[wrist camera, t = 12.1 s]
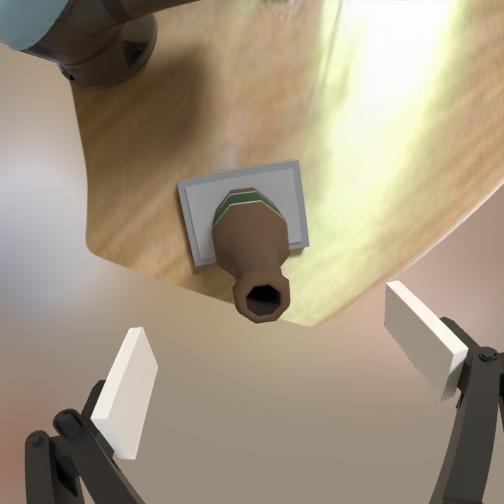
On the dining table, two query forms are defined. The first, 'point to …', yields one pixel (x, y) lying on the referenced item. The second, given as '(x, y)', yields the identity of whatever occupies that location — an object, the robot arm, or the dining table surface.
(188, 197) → the slate stand
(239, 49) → the dining table surface
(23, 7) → the robot arm
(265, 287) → the beer bottle
